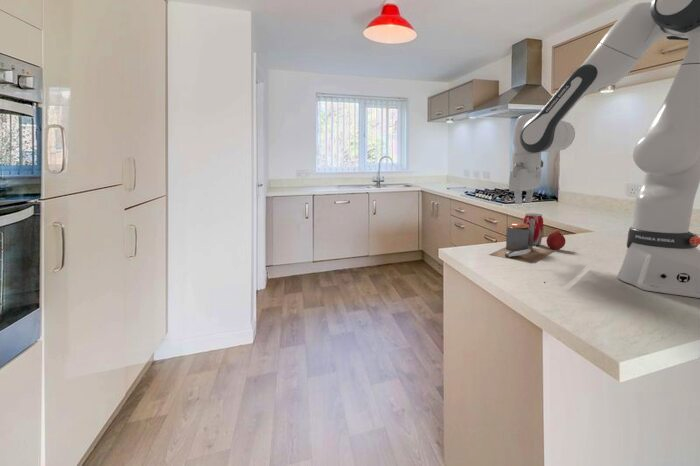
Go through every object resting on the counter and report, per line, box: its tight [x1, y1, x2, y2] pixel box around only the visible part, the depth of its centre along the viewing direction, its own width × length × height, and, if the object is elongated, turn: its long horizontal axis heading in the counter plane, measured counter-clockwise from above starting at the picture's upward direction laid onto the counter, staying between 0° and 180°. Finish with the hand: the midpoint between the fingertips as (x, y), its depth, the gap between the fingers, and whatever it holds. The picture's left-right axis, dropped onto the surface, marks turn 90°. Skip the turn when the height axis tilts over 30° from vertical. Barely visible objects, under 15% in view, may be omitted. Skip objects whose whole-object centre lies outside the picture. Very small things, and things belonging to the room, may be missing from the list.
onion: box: [546, 229, 566, 251], centre depth 124 cm, size 6×6×8 cm
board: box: [488, 246, 555, 264], centre depth 119 cm, size 15×20×1 cm
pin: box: [510, 222, 529, 229], centre depth 124 cm, size 6×6×9 cm
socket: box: [505, 226, 534, 251], centre depth 123 cm, size 7×6×8 cm
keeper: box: [505, 249, 531, 257], centre depth 114 cm, size 7×5×1 cm
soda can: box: [522, 212, 544, 246], centre depth 135 cm, size 7×7×12 cm
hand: (523, 203), depth 121 cm, fingers open, 8 cm apart
